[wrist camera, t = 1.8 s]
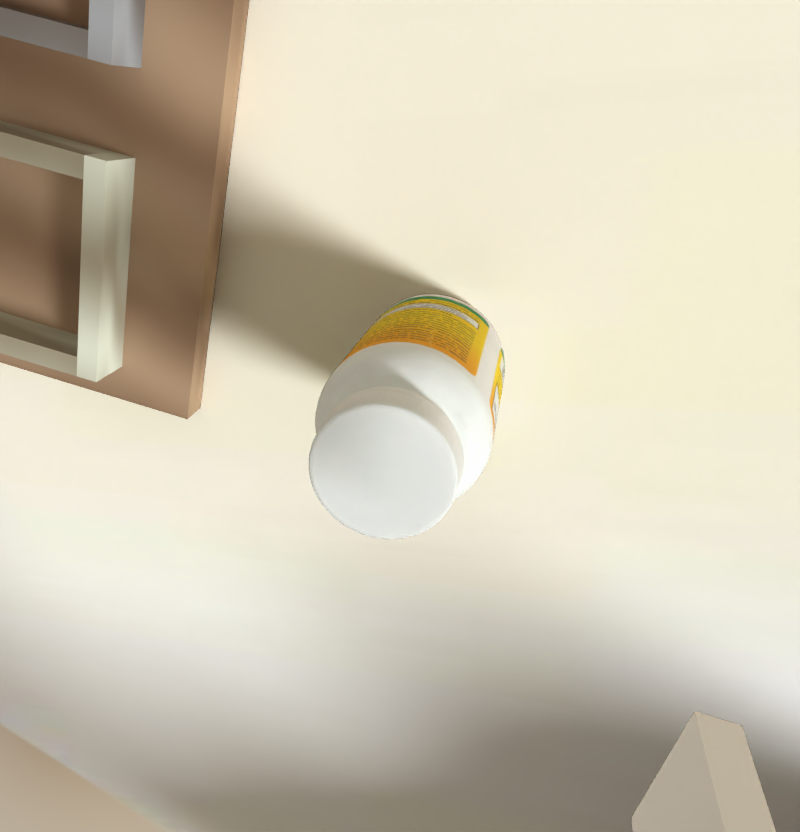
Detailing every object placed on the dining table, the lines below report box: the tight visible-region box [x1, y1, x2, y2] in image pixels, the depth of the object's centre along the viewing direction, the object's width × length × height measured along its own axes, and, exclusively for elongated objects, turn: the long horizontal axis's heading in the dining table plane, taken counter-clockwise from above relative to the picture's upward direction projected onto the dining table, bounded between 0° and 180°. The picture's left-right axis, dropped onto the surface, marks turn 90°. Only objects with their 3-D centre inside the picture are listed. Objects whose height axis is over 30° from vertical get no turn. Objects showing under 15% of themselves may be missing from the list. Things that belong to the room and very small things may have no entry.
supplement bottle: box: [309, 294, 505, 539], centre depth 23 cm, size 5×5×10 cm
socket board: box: [0, 0, 249, 419], centre depth 24 cm, size 22×14×3 cm, turn 167°
